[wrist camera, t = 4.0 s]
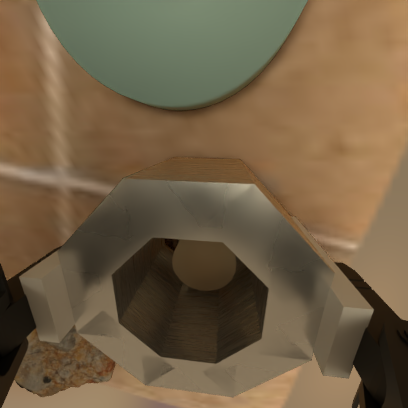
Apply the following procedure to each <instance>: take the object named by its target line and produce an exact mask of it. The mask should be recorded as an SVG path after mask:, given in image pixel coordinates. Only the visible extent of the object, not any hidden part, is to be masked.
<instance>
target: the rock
mask: <svg viewBox="0 0 408 408" xmlns="http://www.w3.org/2000/svg"><path fill="white" fill-rule="evenodd" d="M27 340H28V342H29V345H28V349H27V352H26V354H25V356H24V358H23V360H22V363H21V365H20V367H19V369H18V372H17V374H16V376H15V378H14V380H15V381H16V383H17V384H18V385H19V386H20V387H21V388H25V389H27V390H28V391H30V392H32V393H33V394H37V395H39V396H40V397H45V396H51V395H54V394H56V393H57V392H59V391H63V390H66V389H68V388H70V387H80V386H81V385H83V384H85V383H99V382H104V381H109V380H110V379H111V378H112V374H113V370H114V367H115V361H113V360H112V359H111V358H109V357H108V356H107V355H106V354H104V353H103V352H102V351H100V350H99V349H98V348H96V347H95V346H94V345H92V344H91V343H90V342H89V341H87V340H86V339H85V338H83V337H82V336H81V335H79V334H78V333H77V330H76V326H75V324H74V326H73V327H72V328H71V329H70V331H69V332H68V333H67V334H66V336H65V337H64V338H63V339H62V341H61V342H60V343H55V342H47V341H40V340H39V337H38V333H37V330H36V328H35V329H34V330H33V331H32V332H31V333H30V334H29V335H28V336H27Z"/></svg>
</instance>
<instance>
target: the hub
mask: <svg viewBox="0 0 408 408" xmlns="http://www.w3.org/2000/svg"><path fill="white" fill-rule="evenodd" d="M307 1H308V0H37V2H38V5H39V7H40V9H41V11H42V13H43V15H44V17H45V19H46V20H47V22H48V24H49V26H50V28H51V29H52V31H53V32H54V34H55V35H56V37H57V38H58V40H59V41H60V43H61V44H62V45H63V47H64V48H65V49H66V50H67V52H68V53H69V54H70V55H71V56H72V57H73V59H74V60H75V61H76V62H77V63H78V64H79V65H80V66H81V67H82V68H83V69H84V70H85V71H87V72H88V73H89V74H90V75H91V76H92V77H94V78H95V79H96V80H98V81H99V82H100V83H102V84H103V85H105V86H106V87H108V88H110V89H112V90H113V91H115V92H117V93H119V94H121V95H123V96H126V97H129V98H131V99H134V100H136V101H139V102H142V103H144V104H147V105H149V106H152V107H157V108H161V109H166V110H178V111H180V110H194V109H198V108H203V107H207V106H210V105H213V104H216V103H218V102H221V101H223V100H225V99H227V98H229V97H230V96H232V95H234V94H236V93H237V92H239V91H240V90H241V89H243V88H244V87H246V86H247V85H248V84H249V83H250V82H252V81H253V80H254V79H255V78H256V77H257V76H258V75H259V74H260V73H261V72H262V71H263V70H264V69H265V68H266V66H267V65H268V64H269V63H270V62H271V61H272V60H273V58H274V57H275V55H276V54H277V52H278V51H279V49H280V48H281V46H282V45H283V44H284V42H285V40H286V38H287V37H288V35H289V33H290V32H291V30H292V28H293V26H294V25H295V23H296V21H297V19H298V18H299V16H300V14H301V12H302V10H303V8H304V6H305V5H306V3H307Z"/></svg>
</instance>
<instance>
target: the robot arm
mask: <svg viewBox="0 0 408 408" xmlns="http://www.w3.org/2000/svg"><path fill="white" fill-rule="evenodd" d="M291 218H292V219H293V220H294V222H295V223H296V224H297V225H298V227H299V228H300V229H301V230H302V232H303V233H304V234H305V235H306V237H307V238H308V239H309V241H310V242H311V243H312V244H313V246H314V247H315V248H316V249H317V251H318V252H319V253H320V254H321V256H322V257H323V258H324V260H325V261H326V262H327V263H328V265H329V266H330V267H331V268H332V270H333V271H334V272H335V274H334V278H333V281H332V285H331V287H330V289H329V292H328V296H327V300H326V304H325V307H324V311H323V315H322V319H321V322H320V326H319V330H318V334H317V337H316V341H315V345H314V349H313V352H314V355H315V357H316V360H317V362H318V365H319V367H320V369H321V372H322V374H323V375H324V376H332V377H341V378H349V376H350V373H351V371H352V368H353V365H354V367H355V368H356V370H357V372H358V374H359V375H360V377H361V379H362V380H361V382H360V385H359V388H358V390H357V392H356V395H355V397H354V400H353V404H352V408H357V407H358V405H360V408H408V321H406V320H402V319H400V318H399V317H398V316H397V315H396V314H395V313H394V311H393V310H392V309H391V308H390V307H389V306H388V305H387V304H386V303H385V302H384V301H383V300H382V299H381V298H380V297H379V295H378V294H377V293H376V292H375V291H374V290H372V289H371V287H370V286H369V285H368V284H367V283H366V282H364V280H363V279H362V278H361V276H360V275H359V274H358V273H357V272H356V271H355V270H353V269H352V268H350V267H348V266H347V265H345V264H344V263H337V262H333V261H332V259H331V258H330V257H329V256H328V255H327V253H326V252H325V251H324V250H323V249H322V248H321V246H320V245H319V244H318V243H317V242H316V240H315V239H314V238H313V237H312V236H311V234H310V233H309V232H308V231H307V230H306V229H305V227H304V226H303V225H302V224H301V223H300V221H299V220H298V219H297V218H296V217H292V216H291ZM61 247H62V246H61ZM61 247H58V248H56V249H54V250H53V251H51V252H50V253H48V254H47V255H46V256H45V257H42V258H41V259H39V260H38V261H37V262H35V263H33V264H32V265H30V266H29V267H27V268H26V269H24V270H23V271H21V272H20V273H18V274H17V275H15V276H14V277H12V278H11V279H9V280H8V281H7V280H6V277H5V275H4V272H3V269H2V266H1V264H0V408H1V407H2V405H3V403H4V400H5V398H6V396H7V394H8V392H9V389H10V387H11V385H12V383H13V381H14V378H15V376H16V374H17V372H18V369H19V367H20V365H21V363H22V360H23V358H24V356H25V354H26V352H27V349H28V345H29V342H28V340H27V336H28V335H29V334H30V333H31V332H32V331H33V330H34V329H35V328H36V330H37V333H38V337H39V340H40V341H47V342H55V343H60V342H61V341H62V339H63V338H64V337H65V336H66V334H67V333H68V332H69V331H70V329H71V328H72V327H73V326H74V324H75V321H74V317H73V313H72V309H71V305H70V300H69V296H68V292H67V288H66V284H65V280H64V275H63V271H62V267H61V264H60V260H59V256H58V252H57V251H58V250H59V249H60V248H61Z"/></svg>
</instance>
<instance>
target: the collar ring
mask: <svg viewBox="0 0 408 408" xmlns="http://www.w3.org/2000/svg"><path fill="white" fill-rule="evenodd" d="M165 238H168V239H183V240H197V241H212V242H223V243H224V244H225V245H226V246H227V247H228V248H229V249H230V250H231V251H232V252H233V253H234V254H235V255H236V270H235V274H234V276H233V278H232V279H231V281H230V282H229V283H228V284H226V285H225V286H223V287H222V288H219V289H216V290H212V291H202V290H197V289H194V288H191V287H189V286H187V285H186V284H184V283H183V282H182V281H181V280H180V279H179V278H178V276H177V275H176V273H175V271H174V269H173V265H172V257H173V253H174V251H173V250H172V249H171V248H170V247H169V246H168V245H166V244H165ZM57 252H58V256H59V260H60V264H61V267H62V271H63V275H64V280H65V284H66V288H67V292H68V296H69V300H70V305H71V309H72V313H73V317H74V321H75V326H76V330H77V333H78V334H79V335H81V336H82V337H83V338H85V339H86V340H87V341H89V342H90V343H91V344H92V345H94V346H95V347H96V348H98V349H99V350H100V351H102V352H103V353H104V354H106V355H107V356H108V357H109V358H111V359H112V360H113V361H115V362H116V363H117V364H119V365H120V366H121V367H123V368H124V369H125V370H126V371H128V372H129V373H130V374H132V375H133V376H134V377H136V378H137V379H138V380H139V381H141V382H142V383H143V384H145V385H148V386H156V387H163V388H170V389H177V390H185V391H192V392H199V393H206V394H213V395H221V396H228V397H234V396H236V395H239V394H241V393H243V392H245V391H247V390H249V389H251V388H253V387H256V386H258V385H260V384H262V383H264V382H266V381H268V380H270V379H273V378H275V377H277V376H279V375H281V374H283V373H285V372H287V371H290V370H292V369H294V368H296V367H298V366H300V365H302V364H304V363H307V362H309V361H311V360H312V356H313V349H314V345H315V341H316V337H317V334H318V330H319V326H320V322H321V319H322V315H323V311H324V307H325V304H326V300H327V296H328V292H329V289H330V287H331V285H332V281H333V278H334V274H335V272H334V271H333V270H332V268H331V267H330V266H329V265H328V263H327V262H326V261H325V260H324V258H323V257H322V256H321V254H320V253H319V252H318V251H317V249H316V248H315V247H314V246H313V244H312V243H311V242H310V241H309V239H308V238H307V237H306V235H305V234H304V233H303V232H302V230H301V229H300V228H299V227H298V225H297V224H296V223H295V222H294V220H293V219H292V218H291V216H290V215H289V214H288V213H287V211H286V210H285V209H284V208H283V206H281V205H280V203H279V202H278V201H277V200H276V199H275V198H274V197H273V196H272V194H271V193H270V192H269V191H268V190H267V189H266V188H265V187H264V185H263V184H262V183H261V182H260V181H259V180H258V179H257V178H256V176H255V175H254V174H253V173H252V172H251V171H250V170H249V169H248V168H247V166H246V165H245V164H244V163H243V162H242V161H241V159H216V158H184V157H173V158H171V159H168V160H166V161H163V162H161V163H159V164H156V165H154V166H151V167H149V168H146V169H144V170H142V171H139V172H137V173H134V174H132V175H130V176H127V177H125V178H122V180H121V181H120V182H119V184H118V185H117V186H116V187H115V188H114V189H113V190H112V191H111V193H110V194H109V195H108V196H107V197H106V198H105V199H104V200H103V201H102V203H101V204H100V205H99V206H98V207H97V208H96V209H95V210H94V211H93V213H92V214H91V215H90V216H89V217H88V218H87V219H86V220H85V221H84V223H83V224H82V225H81V226H80V227H79V228H78V229H77V230H76V231H75V233H74V234H73V235H72V236H71V237H70V238H69V239H68V240H67V242H66V243H65V244H64V245H63V246H62V247H61V248H60V249H59V250H58V251H57Z"/></svg>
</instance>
